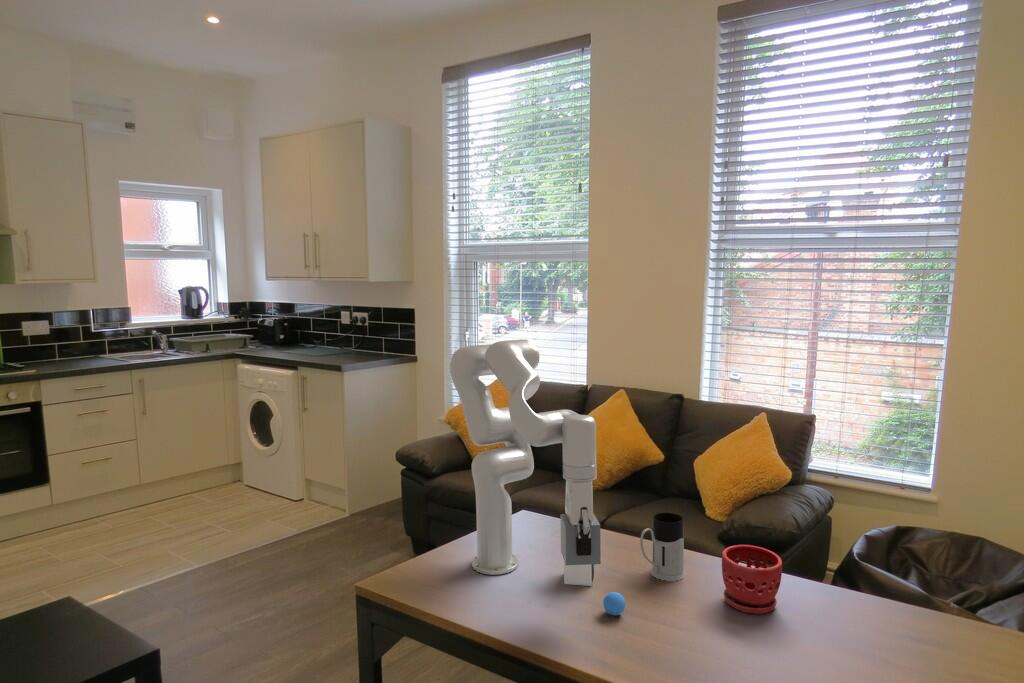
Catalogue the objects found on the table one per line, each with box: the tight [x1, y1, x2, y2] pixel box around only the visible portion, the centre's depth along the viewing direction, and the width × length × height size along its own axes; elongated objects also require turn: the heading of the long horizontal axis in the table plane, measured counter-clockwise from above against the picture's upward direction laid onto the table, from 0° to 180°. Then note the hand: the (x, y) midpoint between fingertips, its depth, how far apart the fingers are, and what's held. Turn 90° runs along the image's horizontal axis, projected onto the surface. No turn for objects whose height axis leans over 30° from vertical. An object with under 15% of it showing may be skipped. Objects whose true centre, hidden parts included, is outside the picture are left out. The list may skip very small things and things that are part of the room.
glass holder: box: [639, 512, 686, 582], centre depth 164 cm, size 9×14×15 cm, turn 124°
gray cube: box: [560, 512, 602, 565], centre depth 144 cm, size 8×8×9 cm
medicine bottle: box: [563, 561, 595, 587], centre depth 163 cm, size 7×7×12 cm
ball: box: [602, 591, 626, 617], centre depth 145 cm, size 5×5×5 cm
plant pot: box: [721, 544, 783, 615], centre depth 148 cm, size 13×13×12 cm
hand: (580, 547), depth 144 cm, fingers closed on gray cube, 7 cm apart
